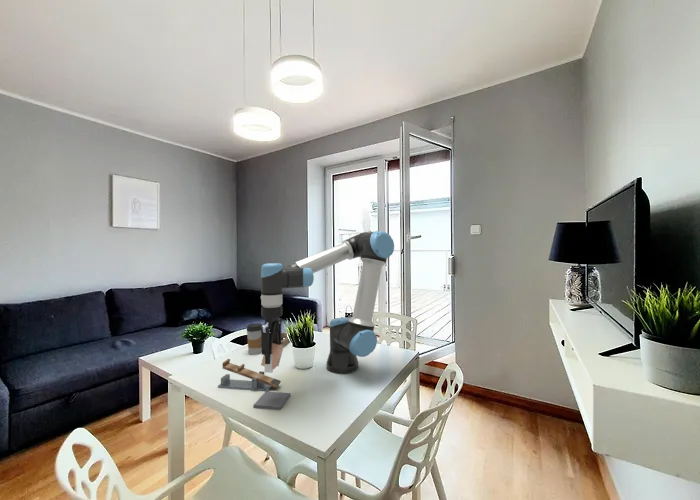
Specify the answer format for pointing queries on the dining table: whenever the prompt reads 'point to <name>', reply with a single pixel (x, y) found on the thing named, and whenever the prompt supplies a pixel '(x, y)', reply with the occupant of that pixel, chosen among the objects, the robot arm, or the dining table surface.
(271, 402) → the pad
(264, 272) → the robot arm
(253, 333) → the coffee cup
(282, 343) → the rock tray
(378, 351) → the dining table surface
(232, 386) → the fulcrum
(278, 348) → the block
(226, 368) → the lever
